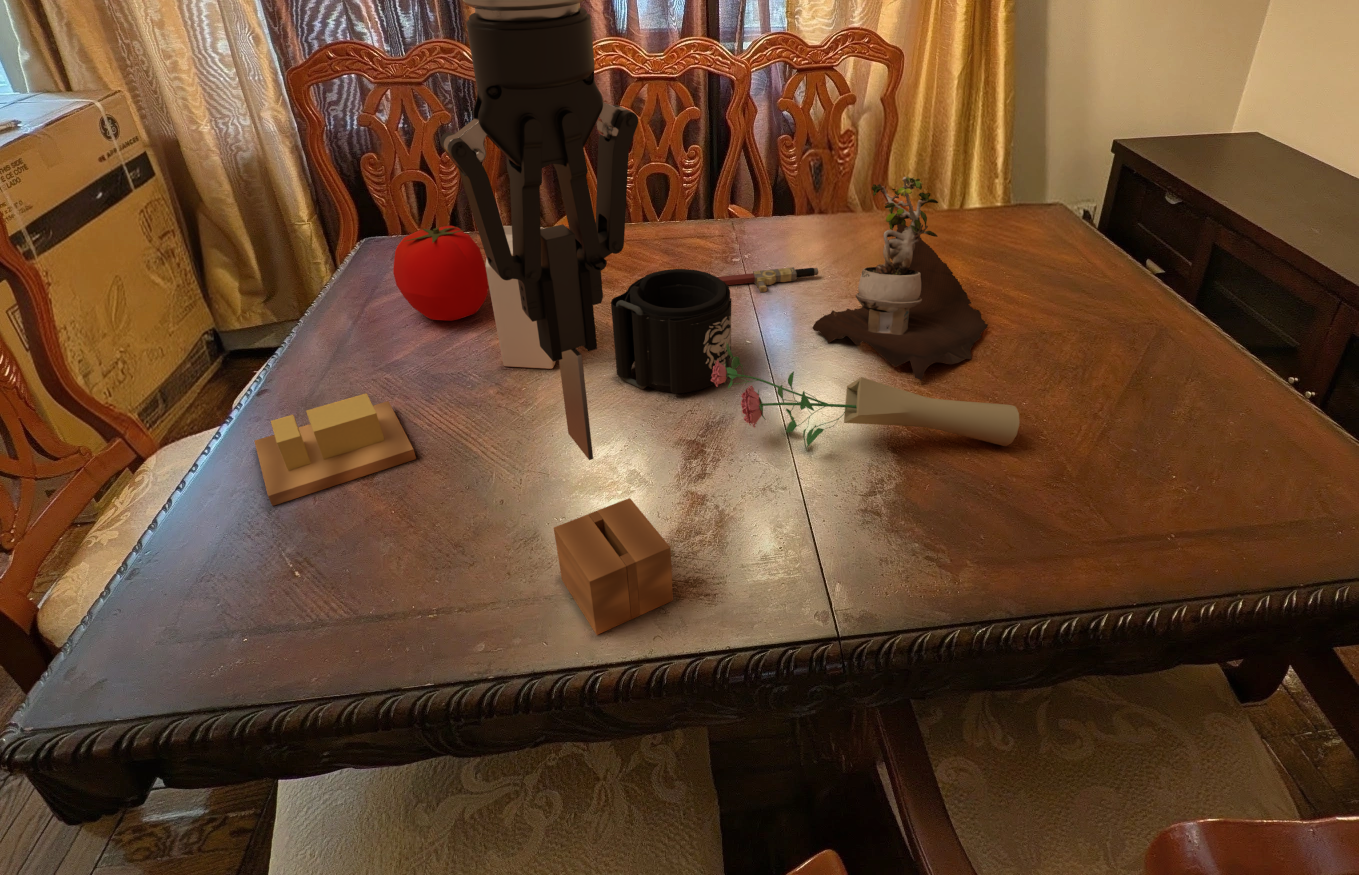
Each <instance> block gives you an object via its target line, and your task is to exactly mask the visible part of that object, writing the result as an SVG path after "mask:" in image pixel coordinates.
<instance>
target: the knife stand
mask: <svg viewBox="0 0 1359 875" xmlns="http://www.w3.org/2000/svg"><path fill="white" fill-rule="evenodd" d="M553 534H554V539H555V545H556V551H557V557H558V566H559V570H560V576H561V581H562V583H563V584H564V586H565V588H566V589H567V591H568V592H569V594H570V595H571V597H572V599H573V601H574V602H575V603H576V605H577V607H578V608H579V609H580V611H581V613H582V614H583V616H584V617H585V619H586V620H587V623H588V624H589V625H590V627H591V628H592V630H593V632H594V633H595V635H596V636H598V635H600V634H602V633H604V632H607V631H609V630H611V629H614V628H615V627H618V626H620V625H622V624H625V623H626V622H629V621H631V620H634V619H636V618H638V617H640V616H642V615H645V614H647V613H650V612H652V611H653V610H656V609H657V608H660V607H662V606H664V605H666V604H669V603H671V602H673V601H674V594H673V593H674V592H673V571H672V570H673V569H672V568H673V567H672V550H671V549H672V548H671V546H670V545H669V543H668V542H667V541H666V540H665V539H664V537H663V536H662V535H661V533H659V531H658V530H657V529H656V527H654V525H653V523H651V522H650V520H649V519H648V518H647V517H646V516H645V514H644V513H643V512H642V511H641V510H640V508H639V507H638V506H637V504H636V503H635V502H634V501H633V499H632V498H630V497H629V498H626V499H624V500H620V501H618V502H614V503H613V504H610V505H608V506H605V507H603V508H600V509H598V510H594V511H593V512H590V513H588V514H585V515H583V516H582V515H581V516H580V517H576V518H574V519H572V520H570V521H567V522H563V523H562V524H559V525H556V526H554V527H553Z"/></svg>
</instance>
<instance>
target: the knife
mask: <svg viewBox="0 0 1359 875" xmlns="http://www.w3.org/2000/svg"><path fill="white" fill-rule="evenodd" d="M818 275H819V269H818V267H806V268H797V269H795V267H794V266H793V267H783V268H774V269H765V270H764V269H761V270H755V271H752V272H750V273H742V274H731V275H723V276H717V277H718V278H719V279H721V280H722V281H724V282H725V283H726V284H727V285H728V286H731V285H741V284H750V283H751V284H752V283H754V284H755V285H756V288H758V291H759V293H765V292H767V291H768V287H767V286H771V285H774V284H776V283H785V282H791V281H797V279H799V278H809V277H814V276H818Z"/></svg>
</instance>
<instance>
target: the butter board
mask: <svg viewBox="0 0 1359 875" xmlns="http://www.w3.org/2000/svg"><path fill="white" fill-rule="evenodd" d="M372 405H373V407H374V409H375V411H376V413H377V417H378V420H379V423H380V426H381V430H382V433H383V436H384V440H385V441H382V442H378V443H375V444H372V445H369V446H366V447H362V448H359V449H356V450H353V451H350V452H346V453H343V454H340V455H337V456H334V457H330V458H327V459H323V457H322V454H321V451H320V448H319V446H318V443H317V440H316V437H315V435H314V432H313V429H312V426H311V424H310V423H308V424H306V425H302V426H298V428H299V431H300V433H301V436H302V439H303V441H304V444H305V447H306V450H307V453H308V456H309V459H310V462H311V464H308V465H305V466H301V467H298V468H295V469H292V470H287V467H286V465H285V462H284V460H283V457H282V455H281V452H280V450H279V447H278V445H277V442H276V439H275V435H274V434H271V435H269V436H264V437H261V438H258V439H254V445H255V449H256V453H257V458H258V461H259V466H260V470H261V474H262V478H263V481H264V485H265V489H266V493H267V497H268V500H269V502H270V504H271V506H272V507H274V506H278V505H280V504H283V503H286V502H289V501H293V500H295V499H299V498H301V497H304V496H307V495H312V494H313V493H316V492H319V491H320V492H321V491H323V490H326V489H329V488H333V487H336V486H338V485H341V484H344V483H348V482H350V481H354V480H357V479H361V478H363V477H365V476H366V477H367V476H369V475H371V474H374V473H377V472H381V471H385V470H388V469H390V468H393V467H396V466H400V465H402V464H406V463H408V462H411V461H414V460H417V456H416V453H415V449H414V447H413V444H412V443H411V441H410V438H408V436H407V434H406V432H405V429H404V428H403V426H402V424H401V422H400V420H399V419H398V416H397V414H396V412H395V410H394V408H393V406H392V405H391V403H390V401H389V400H386V401H384V402H380V403H377V404H372Z"/></svg>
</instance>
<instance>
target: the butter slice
mask: <svg viewBox="0 0 1359 875" xmlns="http://www.w3.org/2000/svg"><path fill="white" fill-rule="evenodd" d="M270 425H271V428H272V431H273V435H275V439H276V442H277V445H278V447H279V450H280V452H281V455H282V457H283V460H284V462H285V465H286V467H287V470H292V469H295V468H298V467H301V466H305V465H308V464H311V462H310V459H309V456H308V453H307V450H306V447H305V444H304V441H303V439H302V436H301V433H300V431H299V428H298V427H299V425H298V423H297V421H296V418H295V416H294V414H289V415H286V416H283V417H279V418H276V419H273V420H270Z"/></svg>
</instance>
